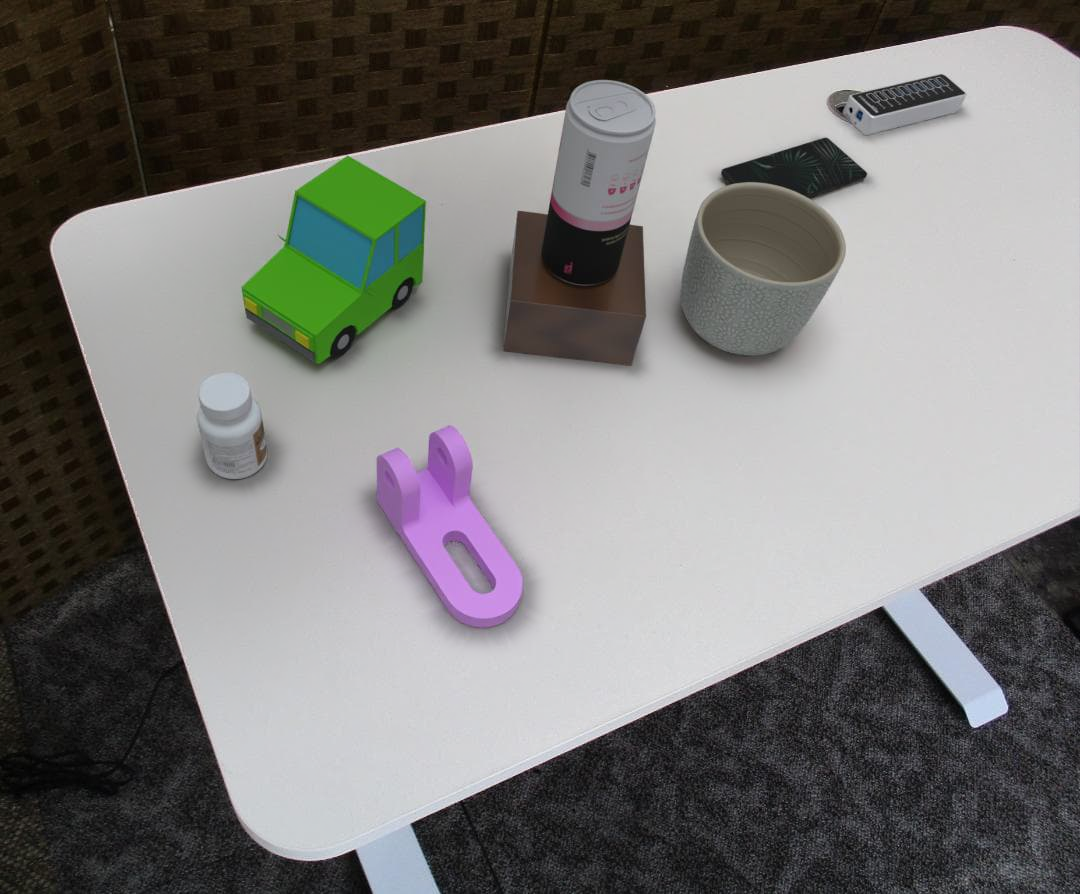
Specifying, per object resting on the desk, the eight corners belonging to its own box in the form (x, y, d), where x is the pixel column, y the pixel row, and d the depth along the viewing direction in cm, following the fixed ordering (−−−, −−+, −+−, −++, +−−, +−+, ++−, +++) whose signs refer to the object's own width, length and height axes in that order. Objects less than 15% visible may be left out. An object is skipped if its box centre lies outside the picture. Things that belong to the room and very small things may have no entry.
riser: (503, 351, 84) (510, 300, 79) (510, 261, 90) (517, 210, 86) (631, 365, 85) (646, 316, 80) (629, 276, 91) (643, 225, 87)
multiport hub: (959, 111, 115) (968, 94, 113) (864, 135, 110) (872, 118, 108) (934, 89, 117) (943, 72, 115) (840, 112, 112) (848, 94, 110)
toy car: (233, 323, 82) (217, 230, 74) (341, 242, 89) (338, 149, 81) (327, 385, 79) (321, 295, 71) (431, 297, 87) (436, 206, 79)
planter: (826, 328, 90) (873, 237, 82) (751, 399, 84) (793, 308, 76) (719, 256, 95) (753, 162, 86) (639, 318, 88) (667, 223, 80)
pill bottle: (277, 467, 74) (267, 402, 68) (219, 489, 72) (204, 424, 66) (254, 425, 76) (242, 358, 70) (197, 446, 74) (181, 379, 68)
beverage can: (524, 250, 83) (549, 92, 71) (586, 225, 86) (619, 69, 74) (572, 299, 80) (605, 144, 68) (633, 272, 83) (676, 118, 71)
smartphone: (869, 173, 104) (762, 209, 98) (865, 181, 105) (759, 217, 98) (826, 135, 107) (720, 167, 101) (823, 143, 108) (717, 176, 102)
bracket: (377, 501, 73) (376, 445, 68) (442, 471, 76) (447, 415, 70) (467, 641, 68) (475, 592, 62) (535, 604, 70) (548, 554, 64)
